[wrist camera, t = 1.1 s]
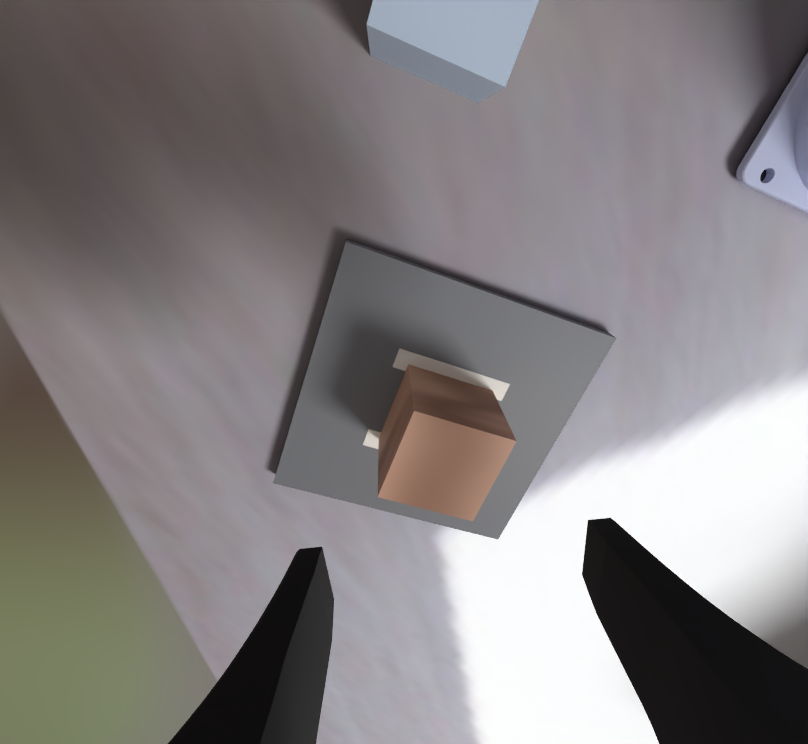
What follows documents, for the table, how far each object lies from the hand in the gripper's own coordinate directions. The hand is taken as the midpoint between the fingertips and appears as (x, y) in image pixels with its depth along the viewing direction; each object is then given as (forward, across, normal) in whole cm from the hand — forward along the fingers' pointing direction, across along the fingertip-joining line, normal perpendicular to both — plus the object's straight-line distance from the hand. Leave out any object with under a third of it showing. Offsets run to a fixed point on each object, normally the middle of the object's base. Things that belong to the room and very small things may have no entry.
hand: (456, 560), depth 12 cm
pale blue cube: (+10, -2, -14) cm, 17 cm away
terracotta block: (+9, 0, +1) cm, 9 cm away
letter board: (+9, 0, +1) cm, 9 cm away
